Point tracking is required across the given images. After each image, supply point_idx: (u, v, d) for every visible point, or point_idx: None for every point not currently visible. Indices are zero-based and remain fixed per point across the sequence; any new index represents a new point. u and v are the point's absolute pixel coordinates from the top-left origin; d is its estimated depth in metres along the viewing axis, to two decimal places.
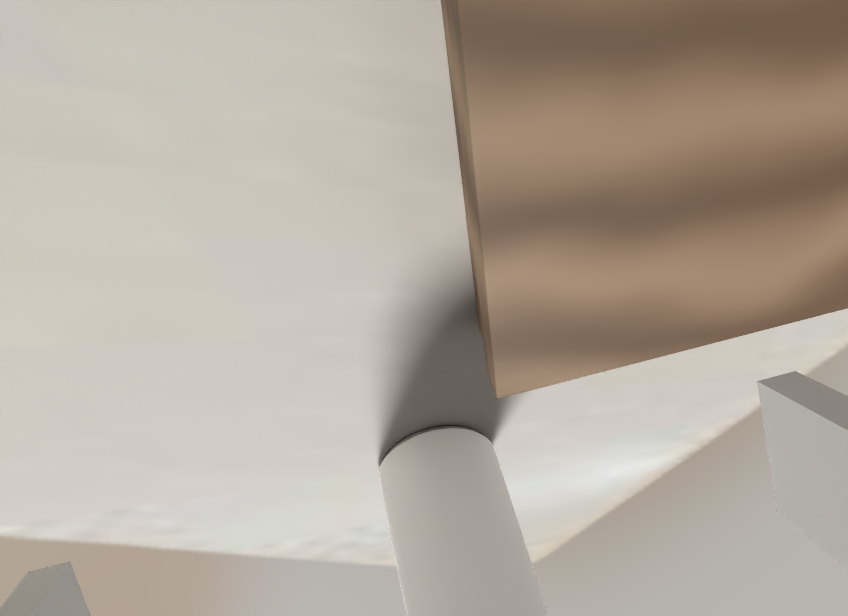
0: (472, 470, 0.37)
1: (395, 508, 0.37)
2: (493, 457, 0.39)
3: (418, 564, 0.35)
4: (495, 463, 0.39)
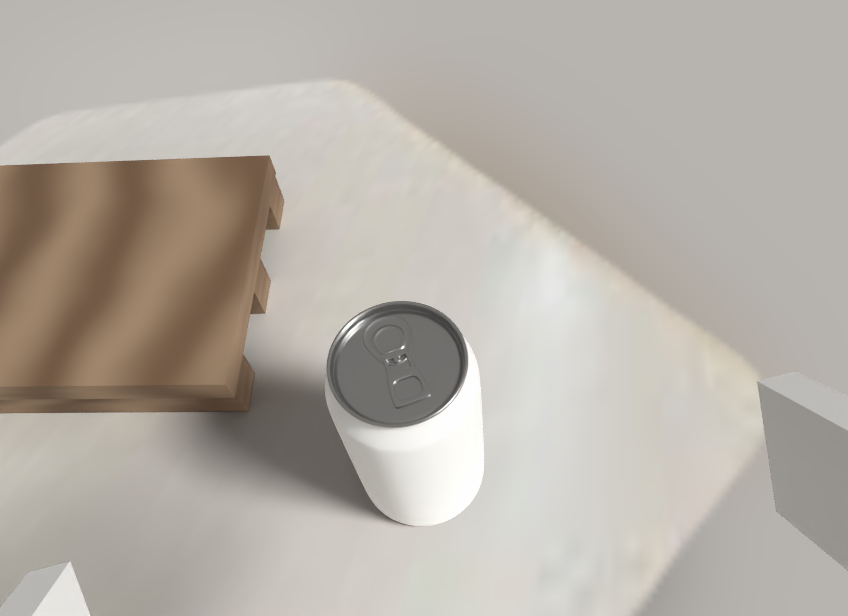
0: None
1: (374, 495, 0.35)
2: None
3: (351, 458, 0.33)
4: None
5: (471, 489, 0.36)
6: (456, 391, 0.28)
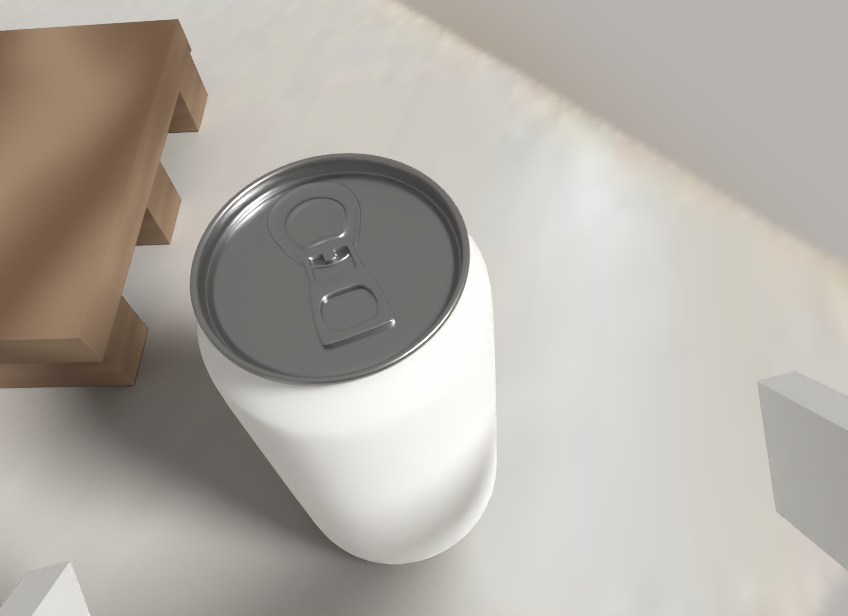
0: None
1: (313, 515, 0.21)
2: None
3: None
4: None
5: (477, 503, 0.22)
6: (446, 311, 0.14)
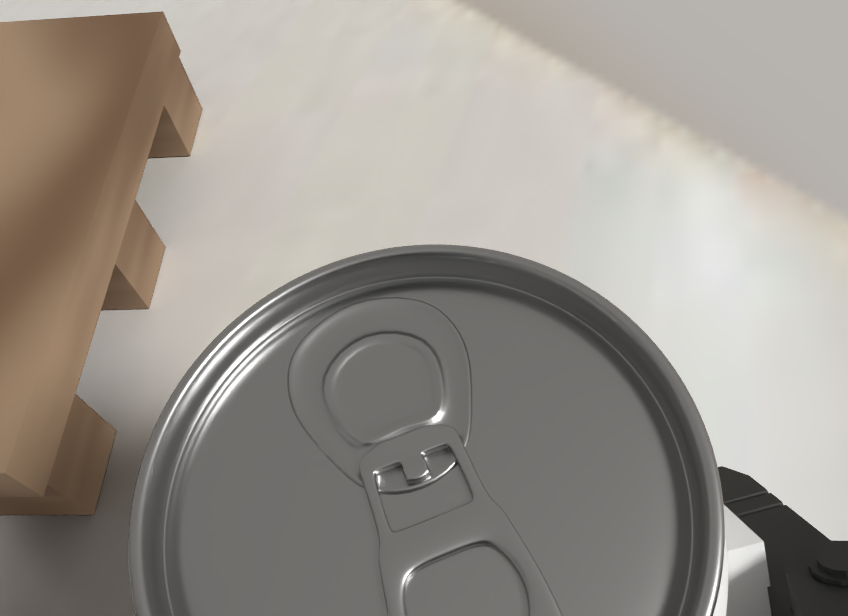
0: None
1: None
2: None
3: None
4: None
5: None
6: None
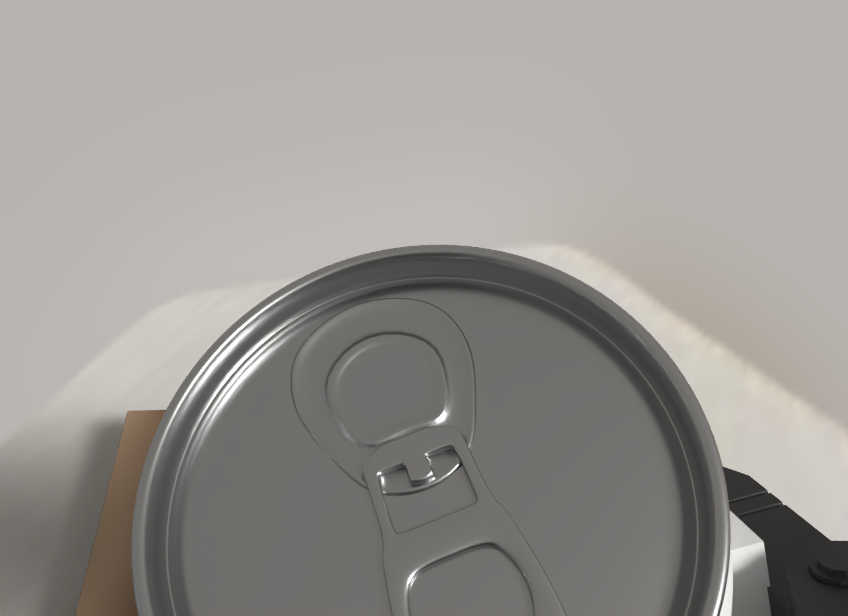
0: None
1: None
2: None
3: None
4: None
5: None
6: None
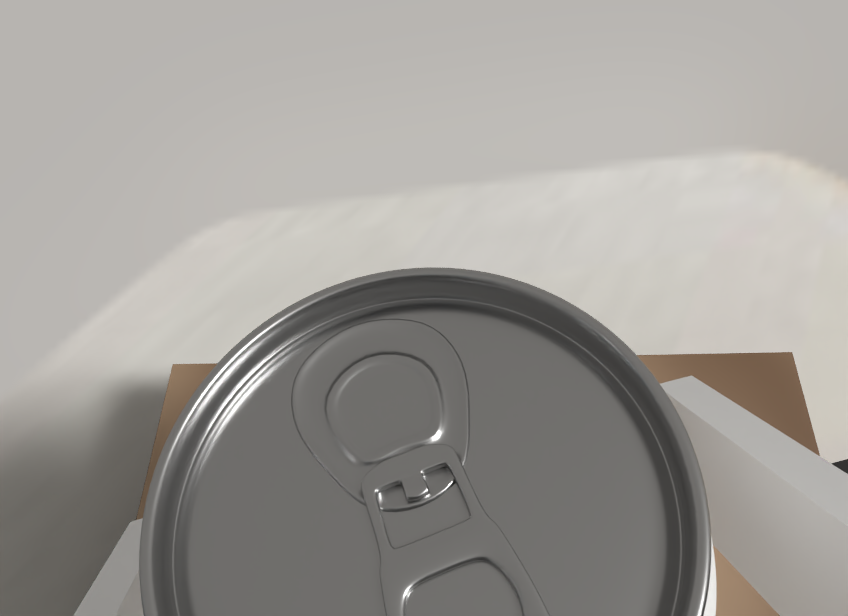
0: None
1: None
2: None
3: None
4: None
5: None
6: None
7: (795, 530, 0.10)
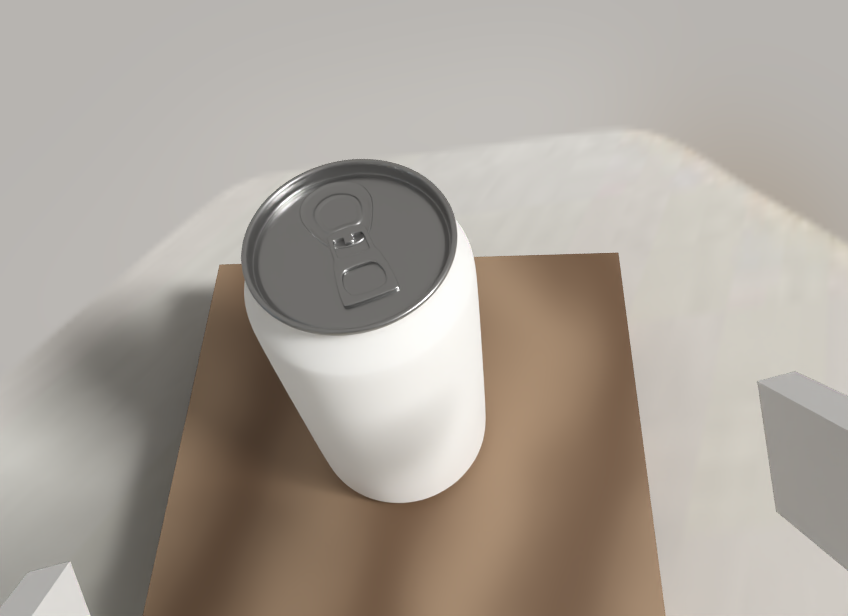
0: None
1: (331, 457, 0.25)
2: None
3: (292, 399, 0.23)
4: None
5: (467, 450, 0.26)
6: (438, 280, 0.18)
7: None
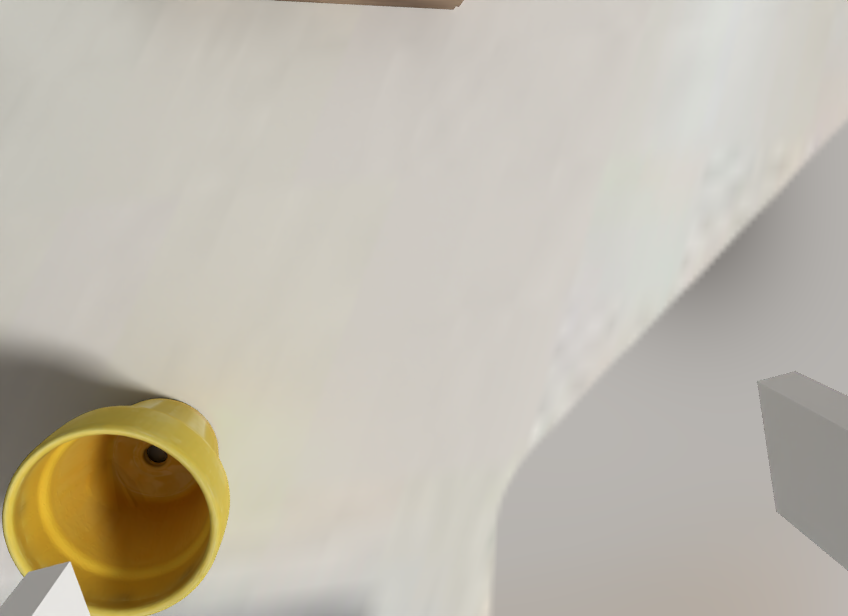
0: None
1: None
2: None
3: None
4: None
5: None
6: None
7: None
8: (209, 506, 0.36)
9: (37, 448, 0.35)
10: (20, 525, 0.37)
